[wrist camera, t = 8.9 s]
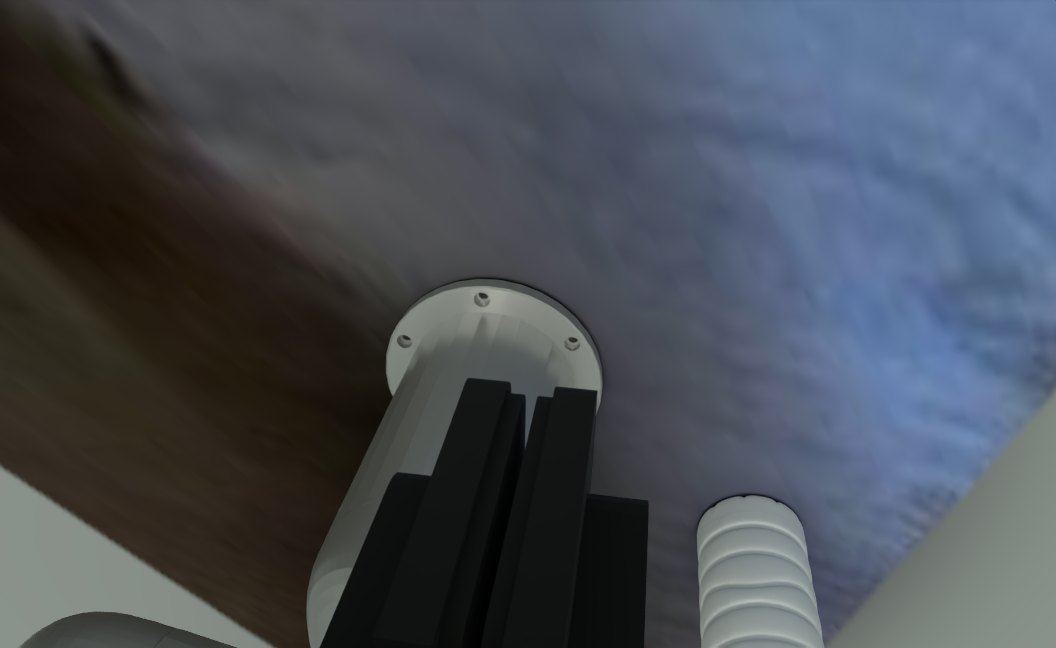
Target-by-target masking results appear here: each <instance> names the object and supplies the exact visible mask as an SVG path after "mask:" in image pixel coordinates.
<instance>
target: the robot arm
mask: <svg viewBox="0 0 1056 648" xmlns="http://www.w3.org/2000/svg"><path fill="white" fill-rule="evenodd" d="M482 293H485V294H486V295H483V294H482ZM571 337H573V338H571ZM574 338H575V339H574ZM386 376H387V381H388V386H389V389H390V392H391V394H392V397H393V398H392V400H391V402H390V404H389V406H388V408H387V411H386V413H385V415H384V417H383V419H382V421H381V423H380V425H379V427H378V429H377V431H376V433H375V436H374V438H373V440H372V442H371V444H370V446H369V448H368V450H367V452H366V454H365V456H364V459H363V461H362V463H361V465H360V467H359V469H358V471H357V473H356V475H355V477H354V479H353V482H352V484H351V486H350V488H349V490H348V492H347V494H346V496H345V498H344V500H343V502H342V505H341V507H340V509H339V511H338V513H337V515H336V517H335V519H334V521H333V524H332V526H331V528H330V530H329V532H328V534H327V536H326V539H325V541H324V543H323V545H322V547H321V549H320V551H319V553H318V556H317V558H316V561H315V563H314V566H313V569H312V573H311V577H310V581H309V587H308V592H307V626H308V633H309V640H310V646H311V648H644V629H645V600H646V570H647V541H648V507H649V505H648V501H647V500H638V499H629V498H621V497H612V496H603V495H595V494H590V489H591V476H592V463H593V449H594V436H595V422H596V415H597V411H598V408H599V405H600V402H601V395H602V388H603V377H602V365H601V362H600V358H599V354H598V351H597V349H596V347H595V345H594V343H593V341H592V339H591V337H590V335H589V333H588V332H587V331H586V329H585V328H584V327H583V326H582V324H581V323H580V322H579V321H578V319H577V318H576V317H575V316H574V315H573V314H571V313H570V312H569V311H568V310H567V309H566V308H565V307H563V306H562V305H561V304H560V303H558V302H556V301H555V300H553V299H551V298H550V297H548V296H546V295H545V294H543V293H541V292H539V291H536V290H534V289H531V288H529V287H526V286H524V285H521V284H516V283H512V282H507V281H502V280H491V279H474V280H466V281H458V282H454V283H451V284H448V285H445V286H442V287H439V288H437V289H435V290H433V291H432V292H430V293H428V294H426V295H424V296H423V297H421V298H420V299H419V300H418V301H417V302H415V303H414V304H413V305H412V306H411V307H410V308H409V309H408V310H407V311H406V313H405V314H404V315H403V317H402V318H401V320H400V321H399V323H398V324H397V326H396V328H395V330H394V332H393V334H392V336H391V338H390V342H389V346H388V349H387V353H386ZM18 648H236V647H233V646H230V645H227V644H224V643H221V642H218V641H215V640H212V639H209V638H206V637H203V636H200V635H197V634H194V633H191V632H188V631H185V630H180V629H177V628H174V627H170V626H167V625H164V624H161V623H158V622H155V621H151V620H147V619H143V618H139V617H135V616H132V615H127V614H121V613H115V612H88V613H80V614H76V615H72V616H69V617H65V618H62V619H60V620H58V621H55V622H53V623H52V624H50V625H48V626H46V627H44V628H42V629H41V630H40V631H38V632H36V633H35V634H34V635H32V636H31V637H30V638H29V639H28V640H26V641H25V642H24V643H23V644H22V645H20V646H19V647H18Z"/></svg>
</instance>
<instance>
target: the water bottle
mask: <svg viewBox="0 0 1056 648" xmlns="http://www.w3.org/2000/svg"><path fill="white" fill-rule="evenodd" d="M697 554H698V562H699V565H698V579H699V587H700V591H699V607H700V634H701V641H702V643H701V648H824V644H823V641H822V630H821V624H820V620H819V616H818V612H817V603H816V597H815V592H814V589H813V586H812V575H811V569H810V565H809V561H808V553H807V546H806V541H805V536H804V530H803V527H802V524H801V522H800V521H799V519H798V517H797V516H796V514H795V513H794V512H793V511H792V510H791V509H789V508H788V507H787V506H785V505H784V504H782V503H779V502H778V503H776V502H775V501H774V500H772V499H770V498H767V497H762V496H753V495H750V496H746V497H745V498H743V497H740V496H737V497H732V498H729V499H726V500H723V501H721V502H719V503H718V504H716V506H715V507H712V508H710V509H709V510H708V511H707V512H706V513H705V514H704V515H703V517H702V518H701V520H700V522H699V526H698V530H697Z"/></svg>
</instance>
